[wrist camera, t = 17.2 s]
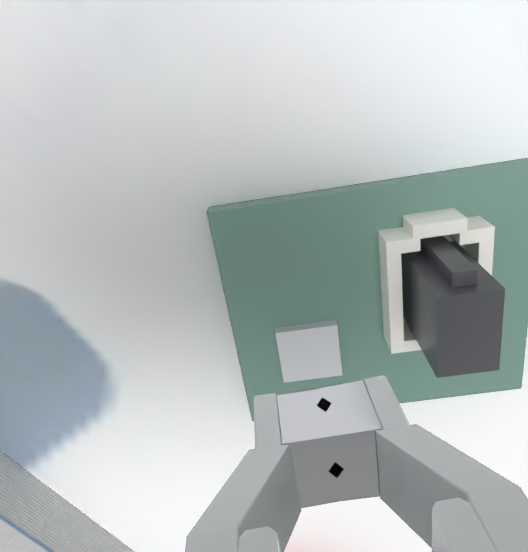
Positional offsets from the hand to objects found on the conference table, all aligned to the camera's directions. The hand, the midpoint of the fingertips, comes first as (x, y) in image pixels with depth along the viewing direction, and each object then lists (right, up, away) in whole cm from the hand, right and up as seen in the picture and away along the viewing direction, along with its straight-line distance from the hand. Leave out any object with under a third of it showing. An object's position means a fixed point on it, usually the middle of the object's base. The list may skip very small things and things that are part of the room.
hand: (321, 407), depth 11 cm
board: (+8, +1, +28) cm, 29 cm away
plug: (+12, +3, +25) cm, 28 cm away
